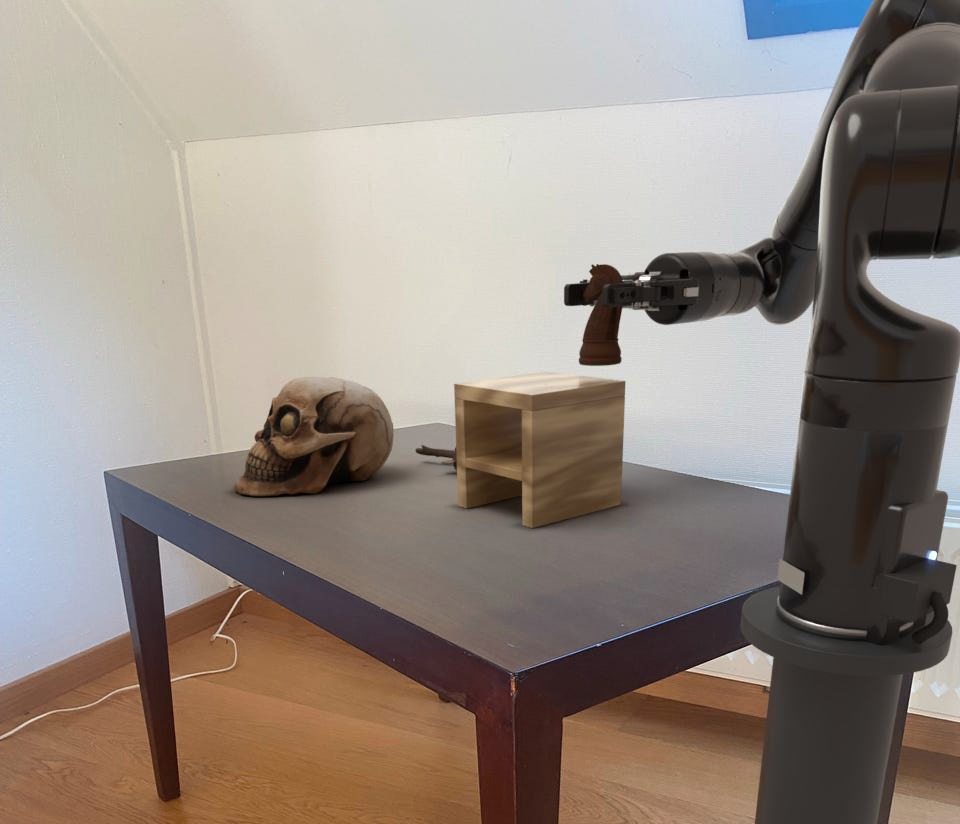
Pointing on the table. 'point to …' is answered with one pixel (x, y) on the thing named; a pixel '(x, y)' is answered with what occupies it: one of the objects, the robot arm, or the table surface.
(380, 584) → the table surface
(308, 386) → the tan skull
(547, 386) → the stand
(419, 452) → the tree branch
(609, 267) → the chess piece
